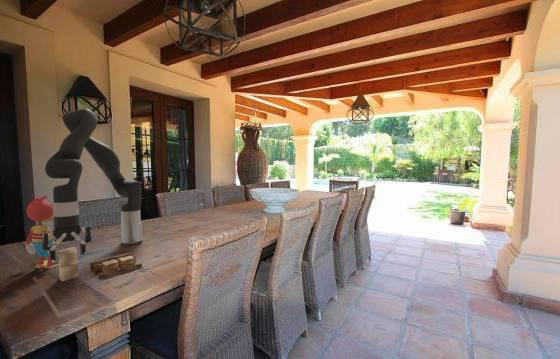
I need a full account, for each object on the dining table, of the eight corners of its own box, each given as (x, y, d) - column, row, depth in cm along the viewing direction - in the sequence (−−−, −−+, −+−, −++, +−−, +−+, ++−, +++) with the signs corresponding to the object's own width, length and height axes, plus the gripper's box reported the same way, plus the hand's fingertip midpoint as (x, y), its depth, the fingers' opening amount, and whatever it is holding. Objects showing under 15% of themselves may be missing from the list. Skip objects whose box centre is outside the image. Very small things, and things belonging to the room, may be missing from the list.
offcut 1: (114, 269, 112) (114, 259, 112) (118, 271, 109) (118, 261, 109) (102, 272, 109) (101, 262, 108) (105, 275, 106) (105, 265, 106)
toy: (71, 265, 117) (68, 195, 115) (44, 275, 108) (40, 198, 105) (48, 261, 122) (44, 193, 120) (20, 269, 112) (16, 196, 110)
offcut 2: (130, 264, 117) (130, 255, 116) (134, 267, 114) (134, 257, 114) (118, 267, 113) (118, 258, 113) (122, 270, 111) (122, 260, 110)
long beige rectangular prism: (76, 275, 106) (74, 246, 105) (78, 277, 104) (77, 248, 104) (59, 279, 102) (58, 250, 102) (61, 281, 101) (60, 252, 100)
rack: (130, 261, 123) (130, 252, 123) (143, 269, 115) (143, 259, 115) (88, 272, 111) (88, 262, 111) (99, 281, 103) (99, 271, 102)
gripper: (86, 209, 109) (87, 250, 111) (38, 215, 99) (41, 259, 100) (92, 212, 105) (93, 254, 106) (43, 218, 94) (45, 265, 95)
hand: (68, 257), depth 103 cm, fingers open, 8 cm apart
